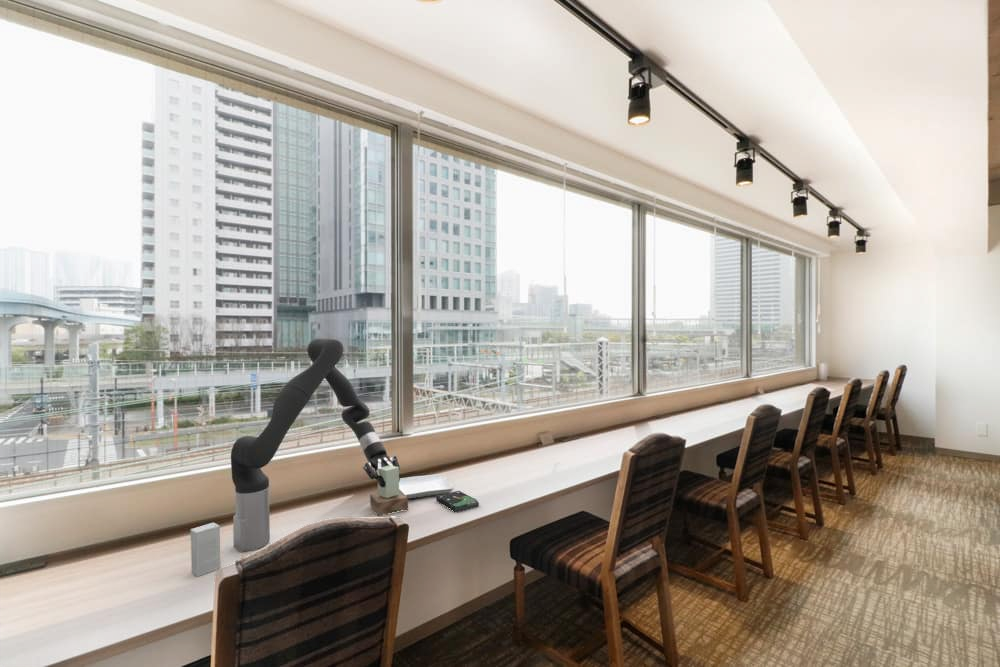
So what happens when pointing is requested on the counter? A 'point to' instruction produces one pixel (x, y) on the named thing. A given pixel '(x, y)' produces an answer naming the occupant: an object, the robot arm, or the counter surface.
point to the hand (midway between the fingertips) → (391, 484)
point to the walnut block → (388, 503)
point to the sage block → (389, 481)
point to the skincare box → (205, 549)
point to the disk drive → (457, 501)
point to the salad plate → (424, 485)
